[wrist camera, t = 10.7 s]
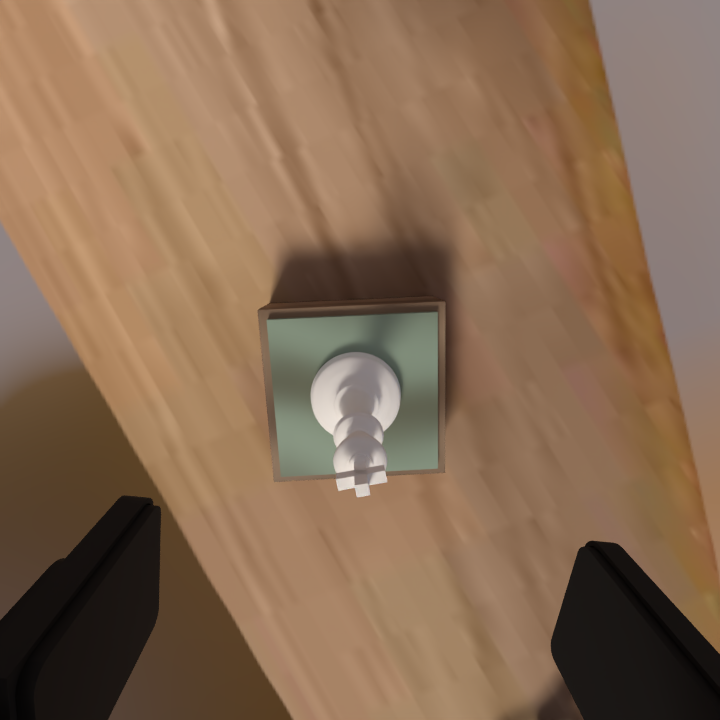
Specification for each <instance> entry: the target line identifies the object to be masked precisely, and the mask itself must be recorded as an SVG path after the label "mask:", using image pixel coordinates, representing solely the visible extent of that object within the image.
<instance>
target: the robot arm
mask: <svg viewBox="0 0 720 720" xmlns="http://www.w3.org/2000/svg"><path fill="white" fill-rule="evenodd" d="M160 525H161V509H160V507H159V506H154V505H153V501H152V499H151V498H146V497H135V496H121V497H120V498H119V499H118V500H117V501H116V502H115V503H114V505H113V506H112V507H111V508H110V509H109V510H108V511H107V512H106V514H105V515H104V516H103V517H102V518H101V519H100V520H99V521H98V523H97V524H96V525H95V526H94V527H93V528H92V529H91V530H90V531H89V533H88V534H87V535H86V536H85V537H84V538H83V539H82V541H81V542H80V543H79V544H78V545H77V546H76V547H75V548H74V549H73V551H72V552H71V553H70V554H69V555H68V556H67V557H66V558H65V559H64V558H63V559H60V560H57V561H56V562H54V563H53V564H52V565H51V566H50V567H49V568H48V569H47V570H46V571H45V572H44V573H43V574H42V576H41V577H40V578H39V579H38V580H37V581H36V582H35V583H34V585H33V586H32V587H31V588H30V589H29V590H28V591H27V592H26V593H25V594H24V595H23V596H22V597H21V598H20V600H19V601H18V602H17V603H16V604H15V605H14V606H13V607H12V608H11V609H10V610H9V612H8V613H7V614H6V615H5V616H4V617H3V618H2V619H1V620H0V720H108V718H109V716H110V714H111V712H112V710H113V708H114V706H115V704H116V702H117V700H118V698H119V696H120V694H121V692H122V690H123V688H124V686H125V684H126V682H127V680H128V678H129V676H130V674H131V672H132V670H133V668H134V666H135V664H136V662H137V660H138V658H139V656H140V654H141V652H142V650H143V648H144V646H145V644H146V642H147V640H148V638H149V636H150V634H151V632H152V630H153V628H154V626H155V623H156V619H157V616H158V610H159V572H160V571H159V570H160ZM551 652H552V656H553V659H554V661H555V663H556V665H557V667H558V669H559V671H560V673H561V675H562V677H563V679H564V681H565V683H566V685H567V687H568V689H569V691H570V693H571V695H572V697H573V699H574V701H575V703H576V705H577V707H578V709H579V711H580V713H581V715H582V717H583V719H584V720H720V654H719V653H718V652H717V651H716V650H715V649H714V647H713V646H712V645H711V644H710V643H709V642H708V641H707V640H706V639H705V638H704V637H703V635H702V634H701V633H700V632H699V631H698V630H697V629H696V628H695V627H694V626H693V625H692V623H691V622H690V621H689V620H688V619H687V618H686V617H685V616H684V615H683V614H682V613H681V611H680V610H679V609H678V608H677V607H676V606H675V605H674V604H673V603H672V602H671V601H670V599H669V598H668V597H667V596H666V595H665V594H664V593H663V592H662V591H661V590H660V589H659V587H658V586H657V585H656V584H655V583H654V582H653V581H652V580H651V579H650V578H649V577H648V575H647V574H646V573H645V572H644V571H643V570H642V569H641V568H640V567H639V566H638V565H637V563H636V562H635V561H634V560H633V559H632V558H631V557H630V556H629V555H628V554H627V553H626V551H625V550H624V549H623V548H622V547H621V546H620V545H618V544H616V543H610V542H600V541H589V542H588V543H586V545H585V547H581V548H580V549H579V551H578V553H577V557H576V560H575V563H574V566H573V570H572V573H571V576H570V580H569V583H568V586H567V590H566V593H565V596H564V599H563V603H562V606H561V609H560V613H559V616H558V619H557V623H556V626H555V629H554V632H553V636H552V639H551Z"/></svg>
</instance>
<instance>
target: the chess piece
mask: <svg viewBox="0 0 720 720" xmlns="http://www.w3.org/2000/svg"><path fill="white" fill-rule="evenodd" d="M400 400H401V390H400V385H399V381H398V379H397V377H396V375H395V373H394V371H393V370H392V369H391V367H390V366H389V365H388V364H387V363H385V362H384V361H383V360H381V359H380V358H378V357H376V356H374V355H371V354H368V353H363V352H349V353H344V354H341V355H338V356H336V357H334V358H332V359H330V360H329V361H328V362H326V363H325V364H324V365H323V366H322V367H321V368H320V370H319V371H318V372H317V374H316V376H315V378H314V380H313V383H312V387H311V404H312V409H313V412H314V415H315V417H316V419H317V420H318V422H319V423H320V425H321V426H322V427H323V428H324V429H325V430H326V431H327V432H329V433H330V434H332V435H333V439H334V443H335V445H336V447H337V449H336V451H335V453H334V457H333V465H334V469H335V471H336V482H337V487H338V491H340V490H345V489H351V488H355V490H356V495H357V497H362V496H368V495H370V490H369V485H374V484H380V483H385V482H387V478H386V472H385V470H386V467H387V454H386V451H385V449H384V447H383V446H382V442H383V438H384V431H385V430H386V429H387V428H388V427H389V426H390V425H391V424H392V423H393V421H394V420H395V418H396V416H397V414H398V411H399V407H400Z"/></svg>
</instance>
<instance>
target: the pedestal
mask: <svg viewBox="0 0 720 720" xmlns="http://www.w3.org/2000/svg"><path fill="white" fill-rule="evenodd" d="M445 307H446V302H445V301H443V300H441V299H438V298H436V297H434V296H421V297H399V298H376V299H354V300H332V301H310V302H288V303H269V304H267V305H266V306H264V307H262V308H260V309H259V310H258V320H259V330H260V341H261V351H262V362H263V372H264V383H265V393H266V404H267V414H268V425H269V435H270V446H271V456H272V466H273V477H274V482H282V481H300V480H319V479H336V471H335V469H334V465H333V457H334V453H335V451H336V449H337V447H336V445H335V443H334V439H333V435H332V434H330V433H329V432H327V431H326V430H325V429H324V428H323V427H322V426H321V425H320V423H319V422H318V420H317V419H316V417H315V415H314V412H313V409H312V404H311V387H312V383H313V380H314V378H315V376H316V374H317V372H318V371H319V370H320V368H321V367H322V366H323V365H324V364H325V363H326V362H328V361H329V360H330V359H332V358H334V357H336V356H338V355H341V354H344V353H349V352H363V353H368V354H371V355H374V356H376V357H378V358H380V359H381V360H383V361H384V362H385V363H387V364H388V365H389V366H390V367H391V369H392V370H393V371H394V373H395V375H396V377H397V379H398V381H399V385H400V390H401V400H400V407H399V411H398V414H397V416H396V418H395V420H394V421H393V423H392V424H391V425H390V426H389V427H388V428H387V429H386V430H385V431H384V438H383V442H382V446H383V447H384V449H385V451H386V454H387V467H386V470H385V472H386V476H394V475H413V474H432V473H445Z"/></svg>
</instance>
